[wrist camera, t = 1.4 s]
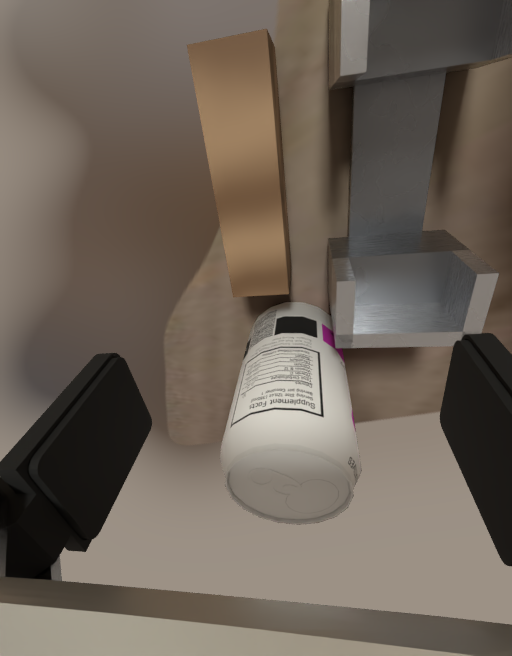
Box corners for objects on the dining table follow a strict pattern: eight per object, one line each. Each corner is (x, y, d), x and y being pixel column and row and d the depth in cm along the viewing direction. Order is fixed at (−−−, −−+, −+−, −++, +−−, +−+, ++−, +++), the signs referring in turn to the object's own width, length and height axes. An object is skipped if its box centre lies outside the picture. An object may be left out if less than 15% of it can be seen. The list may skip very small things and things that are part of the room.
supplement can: (358, 323, 29) (399, 481, 16) (309, 382, 33) (312, 543, 21) (276, 282, 28) (253, 418, 15) (237, 349, 32) (194, 498, 19)
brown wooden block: (211, 59, 20) (186, 44, 16) (275, 47, 20) (266, 28, 15) (244, 270, 28) (233, 297, 23) (291, 266, 27) (288, 293, 23)
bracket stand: (327, -23, 18) (343, -119, 10) (492, -57, 16) (638, -193, 9) (327, 293, 28) (335, 354, 20) (429, 289, 26) (475, 352, 19)
